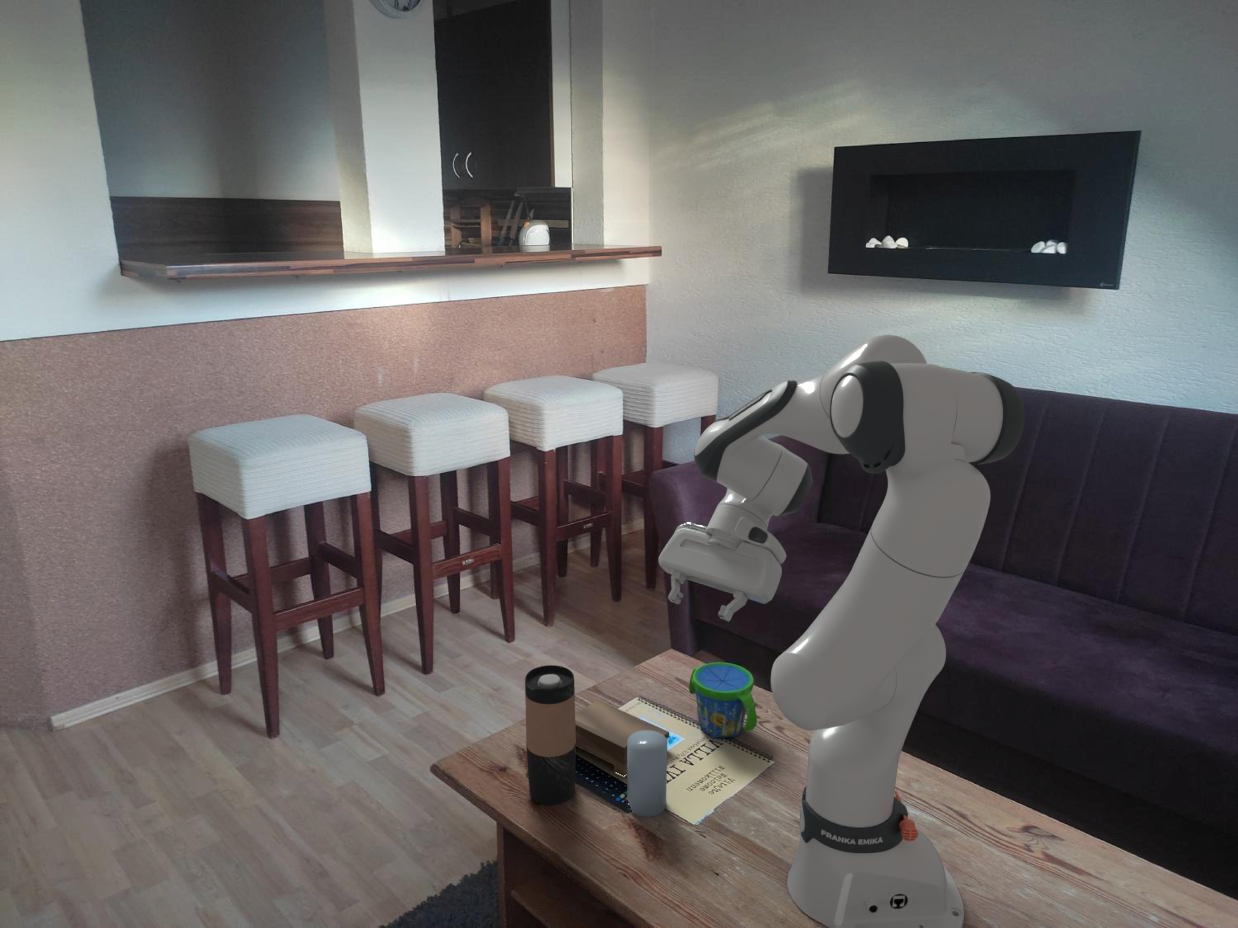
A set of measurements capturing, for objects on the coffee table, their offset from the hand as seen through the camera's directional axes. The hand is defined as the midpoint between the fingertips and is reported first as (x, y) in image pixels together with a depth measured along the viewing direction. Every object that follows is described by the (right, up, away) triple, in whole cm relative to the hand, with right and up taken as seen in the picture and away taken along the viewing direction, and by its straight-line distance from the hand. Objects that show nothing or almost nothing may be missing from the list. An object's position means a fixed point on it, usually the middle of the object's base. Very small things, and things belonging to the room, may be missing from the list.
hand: (697, 609), depth 139 cm
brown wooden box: (-14, -25, +13) cm, 32 cm away
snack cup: (+6, -24, +19) cm, 31 cm away
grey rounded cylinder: (-8, -30, -1) cm, 31 cm away
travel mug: (-23, -29, +2) cm, 37 cm away
